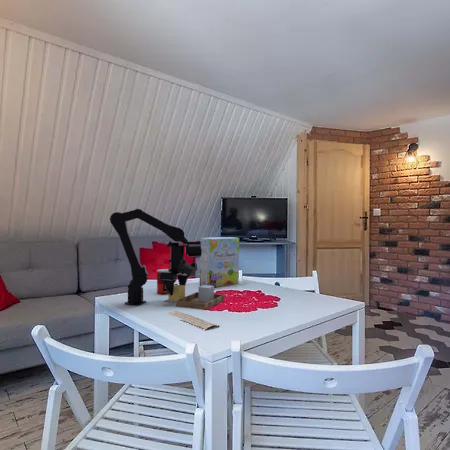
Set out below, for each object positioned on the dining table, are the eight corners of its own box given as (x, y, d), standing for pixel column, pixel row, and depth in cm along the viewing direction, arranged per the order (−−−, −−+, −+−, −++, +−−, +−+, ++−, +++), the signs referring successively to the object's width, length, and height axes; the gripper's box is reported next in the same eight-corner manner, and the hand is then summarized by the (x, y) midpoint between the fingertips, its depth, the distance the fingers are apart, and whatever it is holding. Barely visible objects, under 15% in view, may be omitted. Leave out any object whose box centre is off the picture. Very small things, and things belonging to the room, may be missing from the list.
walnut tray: (206, 311, 136) (206, 304, 136) (175, 307, 141) (175, 300, 141) (224, 301, 152) (224, 294, 152) (196, 298, 158) (196, 292, 158)
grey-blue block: (209, 302, 148) (209, 288, 148) (198, 301, 150) (198, 287, 150) (213, 299, 153) (214, 285, 152) (203, 298, 154) (203, 285, 154)
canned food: (165, 295, 164) (165, 271, 163) (153, 293, 168) (153, 270, 168) (176, 292, 170) (176, 270, 170) (165, 290, 175) (165, 268, 174)
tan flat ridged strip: (166, 317, 130) (166, 312, 130) (182, 313, 135) (182, 309, 135) (205, 332, 112) (205, 327, 112) (222, 328, 117) (222, 323, 117)
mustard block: (168, 300, 150) (168, 286, 150) (174, 298, 154) (174, 284, 154) (179, 301, 148) (179, 287, 148) (184, 299, 152) (185, 285, 152)
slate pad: (180, 304, 146) (180, 302, 146) (164, 302, 149) (164, 301, 149) (189, 300, 153) (189, 298, 153) (173, 298, 156) (173, 297, 156)
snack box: (209, 289, 179) (209, 238, 179) (198, 286, 186) (199, 237, 185) (239, 283, 194) (239, 237, 193) (228, 281, 200) (229, 236, 200)
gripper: (182, 260, 139) (182, 299, 139) (203, 255, 156) (203, 290, 156) (158, 258, 143) (158, 297, 144) (181, 254, 161) (181, 288, 161)
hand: (177, 293), depth 151 cm, fingers open, 9 cm apart
